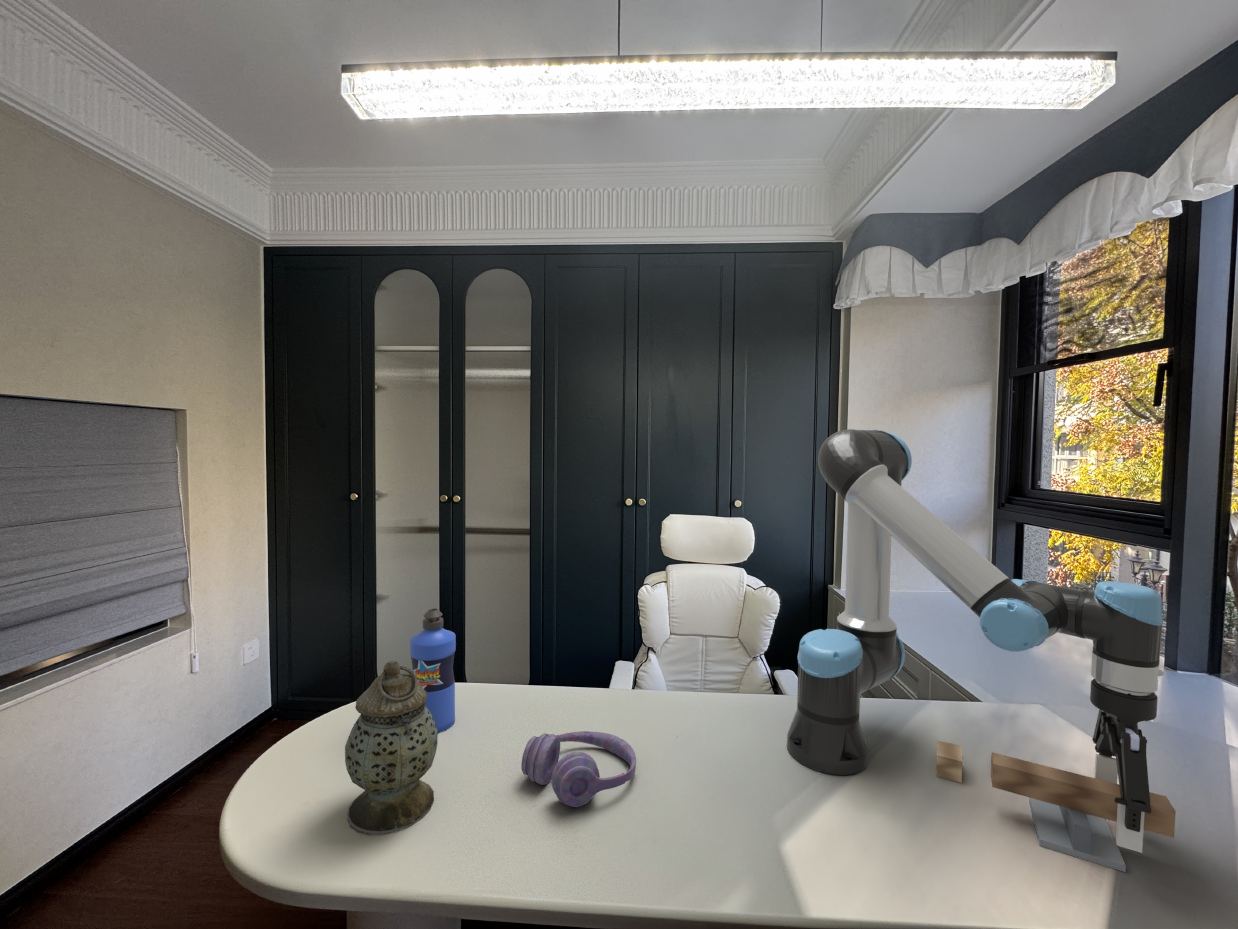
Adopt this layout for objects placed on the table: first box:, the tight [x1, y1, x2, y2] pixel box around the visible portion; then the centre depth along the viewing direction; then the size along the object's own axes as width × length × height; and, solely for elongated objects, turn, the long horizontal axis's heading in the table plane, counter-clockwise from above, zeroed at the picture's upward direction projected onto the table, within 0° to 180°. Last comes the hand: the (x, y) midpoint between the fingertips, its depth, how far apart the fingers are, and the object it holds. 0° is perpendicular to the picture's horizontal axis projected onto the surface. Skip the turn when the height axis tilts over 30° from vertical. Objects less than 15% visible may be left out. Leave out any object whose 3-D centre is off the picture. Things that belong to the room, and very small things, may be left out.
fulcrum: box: [1028, 797, 1127, 873], centre depth 87 cm, size 10×12×5 cm
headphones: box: [520, 730, 637, 808], centre depth 101 cm, size 18×8×20 cm
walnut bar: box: [990, 751, 1176, 839], centre depth 87 cm, size 22×4×4 cm, turn 59°
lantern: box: [344, 660, 439, 836], centre depth 91 cm, size 14×14×25 cm
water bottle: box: [409, 608, 457, 734], centre depth 118 cm, size 9×9×25 cm
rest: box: [935, 739, 963, 784], centre depth 104 cm, size 4×6×4 cm, turn 149°
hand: (1115, 820), depth 85 cm, fingers open, 13 cm apart
